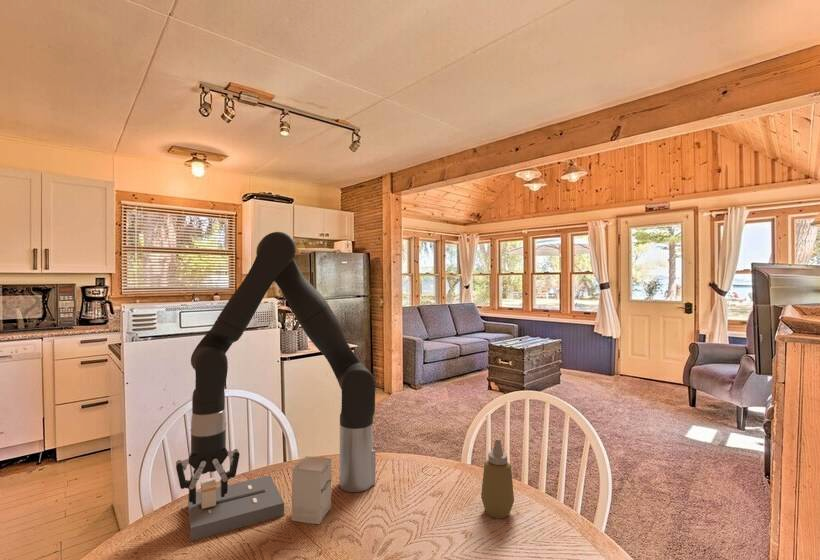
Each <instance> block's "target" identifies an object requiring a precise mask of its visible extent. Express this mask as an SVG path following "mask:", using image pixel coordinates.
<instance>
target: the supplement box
mask: <svg viewBox="0 0 820 560" xmlns="http://www.w3.org/2000/svg"><path fill="white" fill-rule="evenodd" d="M291 472H292V474H291V476H292V477H291V478H292V479H291V521H292V522H300V523H305V524H315V525H320V523H322V521H323V520H324V517H326V515H327V514H328V512H329V511H330V510H331V508H332V458H331V457H330V458H329V457H321V456H309V455H308V456H307V455H306V456H304V457H303V458H302V459H301V460H300V461H299V462H298V463H297V464H296V465H295V466H294V467H293V468H292V469H291Z"/></svg>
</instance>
